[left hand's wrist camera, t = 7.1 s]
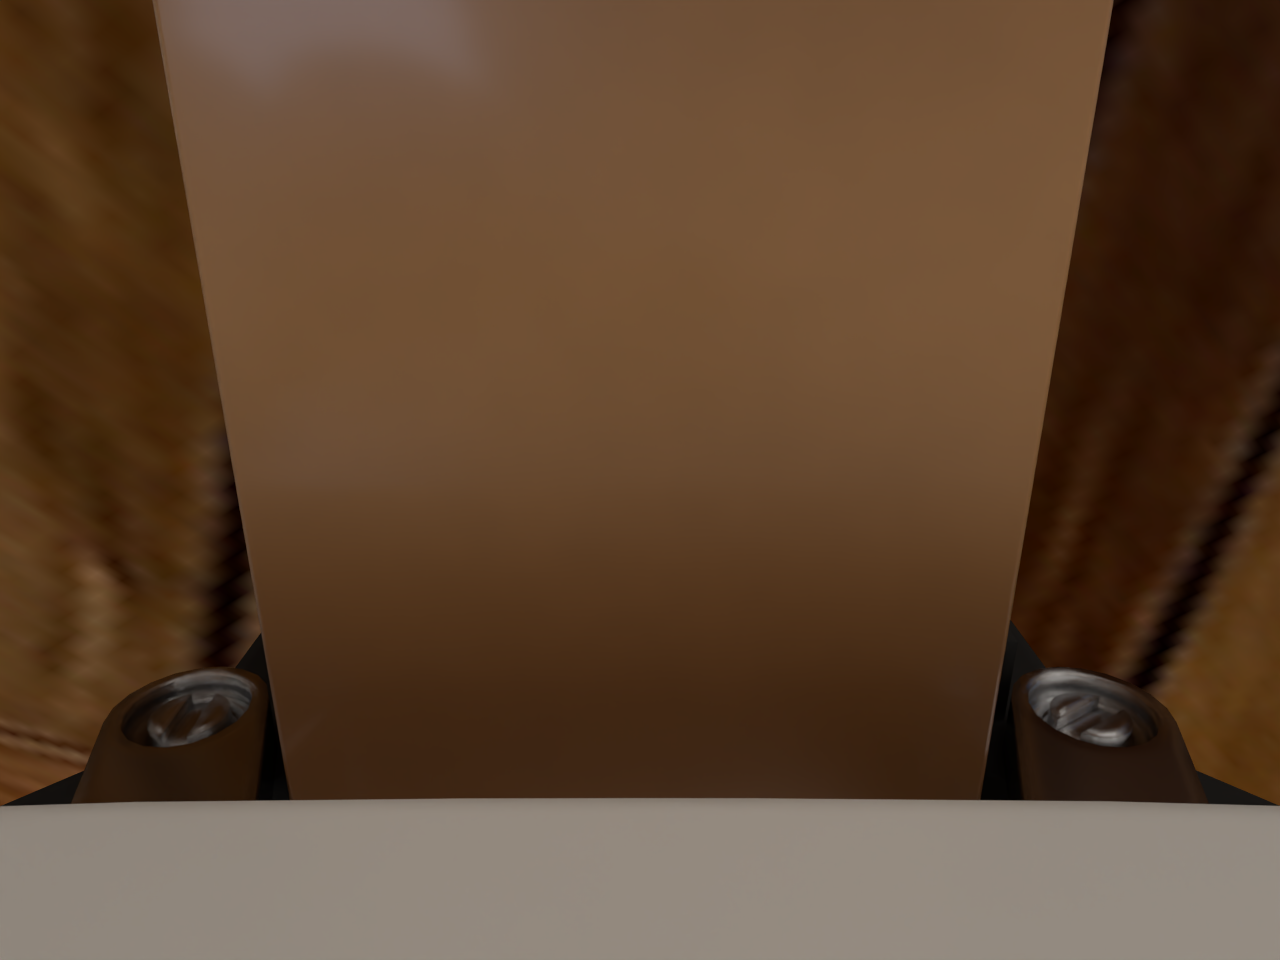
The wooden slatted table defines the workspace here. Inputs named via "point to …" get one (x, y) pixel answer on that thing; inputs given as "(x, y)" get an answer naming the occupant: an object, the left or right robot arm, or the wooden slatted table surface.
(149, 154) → the wooden slatted table surface
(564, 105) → the post
